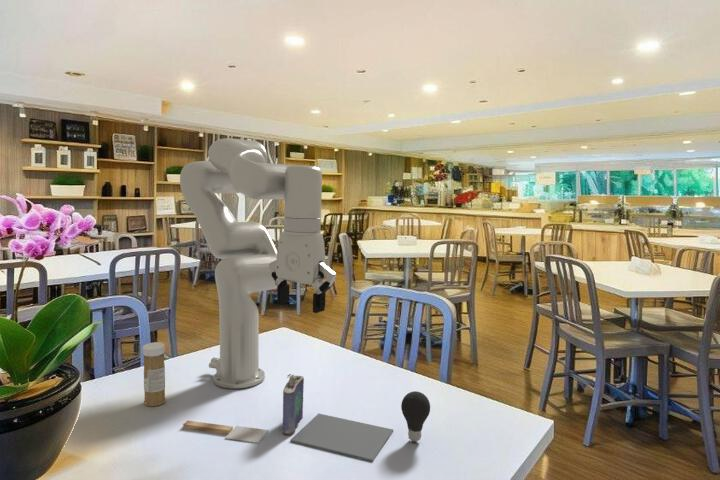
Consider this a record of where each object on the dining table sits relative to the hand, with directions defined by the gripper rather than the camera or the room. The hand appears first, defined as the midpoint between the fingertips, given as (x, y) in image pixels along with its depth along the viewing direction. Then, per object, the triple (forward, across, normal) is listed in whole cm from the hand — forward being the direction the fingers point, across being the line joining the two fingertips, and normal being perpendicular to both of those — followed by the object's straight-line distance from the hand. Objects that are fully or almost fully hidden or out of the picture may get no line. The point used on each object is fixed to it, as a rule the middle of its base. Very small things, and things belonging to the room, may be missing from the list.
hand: (300, 307), depth 101 cm
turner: (+24, -6, -14) cm, 28 cm away
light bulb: (+24, +25, +5) cm, 35 cm away
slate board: (+24, +13, -1) cm, 27 cm away
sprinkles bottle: (+25, -30, -14) cm, 41 cm away
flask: (+24, +2, -4) cm, 24 cm away
